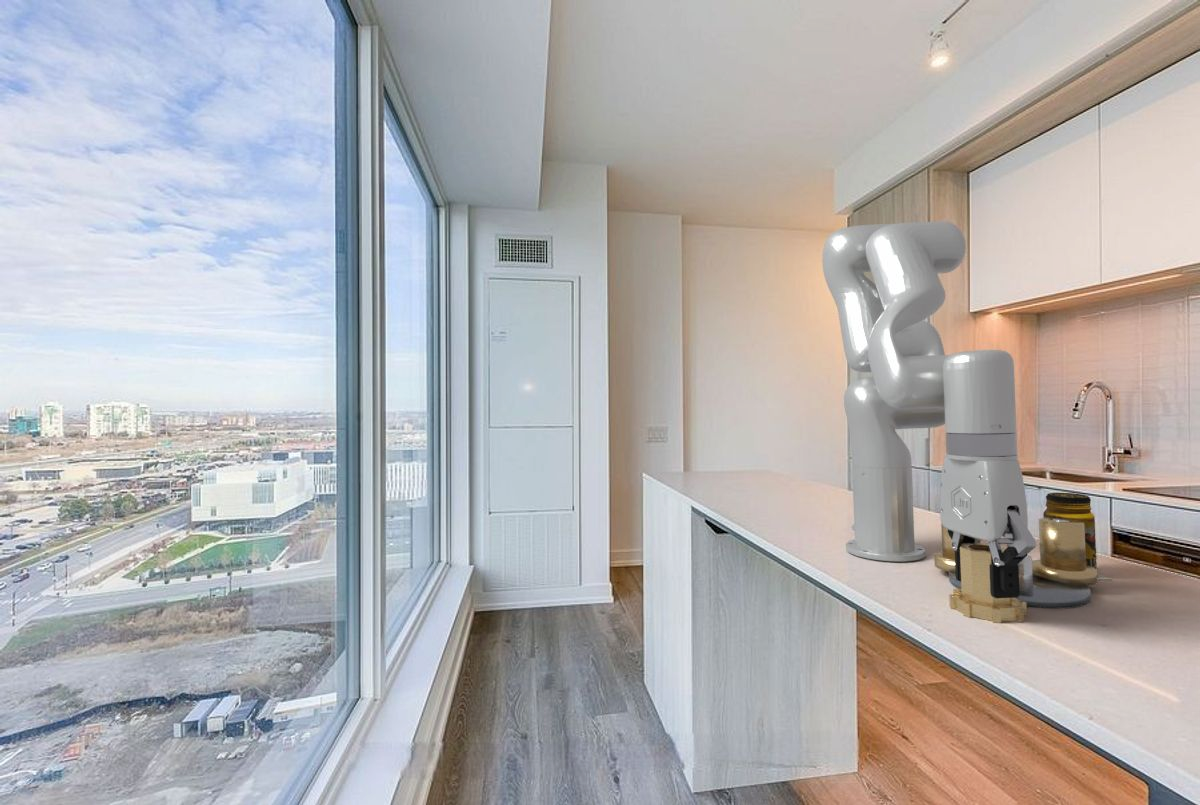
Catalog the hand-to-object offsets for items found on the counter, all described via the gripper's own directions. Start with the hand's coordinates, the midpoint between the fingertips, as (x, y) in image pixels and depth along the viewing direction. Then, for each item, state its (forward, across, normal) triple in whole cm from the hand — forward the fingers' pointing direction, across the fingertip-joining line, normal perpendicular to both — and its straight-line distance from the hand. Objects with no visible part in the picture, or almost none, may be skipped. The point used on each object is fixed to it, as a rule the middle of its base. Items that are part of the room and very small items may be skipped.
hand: (986, 587), depth 70 cm
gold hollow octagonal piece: (+3, 0, 0) cm, 3 cm away
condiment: (+3, -14, +22) cm, 27 cm away
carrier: (+3, -9, +11) cm, 15 cm away
